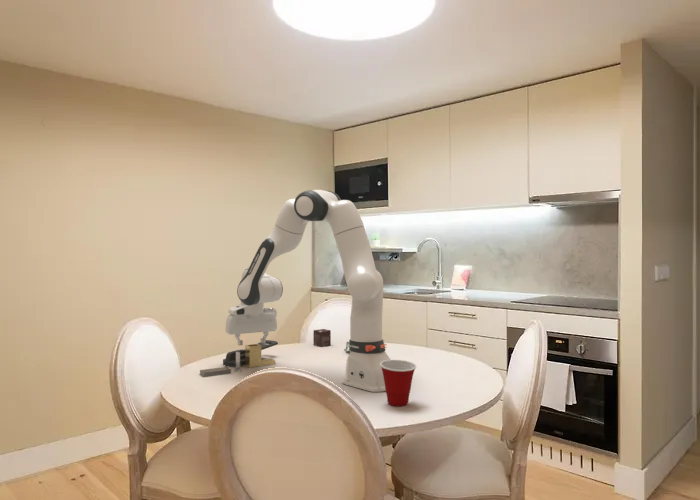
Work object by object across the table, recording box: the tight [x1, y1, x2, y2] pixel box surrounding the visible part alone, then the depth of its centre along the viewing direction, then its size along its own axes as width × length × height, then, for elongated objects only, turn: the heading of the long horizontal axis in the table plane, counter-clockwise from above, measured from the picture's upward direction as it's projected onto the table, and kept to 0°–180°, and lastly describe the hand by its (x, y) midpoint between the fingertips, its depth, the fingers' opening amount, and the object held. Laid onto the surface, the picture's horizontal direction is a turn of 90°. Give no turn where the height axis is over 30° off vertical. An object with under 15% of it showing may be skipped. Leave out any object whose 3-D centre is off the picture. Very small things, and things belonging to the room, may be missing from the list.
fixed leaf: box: [199, 352, 242, 378], centre depth 195 cm, size 5×15×7 cm, turn 121°
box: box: [312, 328, 332, 348], centre depth 249 cm, size 6×6×7 cm
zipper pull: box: [222, 339, 279, 368], centre depth 216 cm, size 9×7×25 cm
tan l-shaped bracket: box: [244, 343, 276, 368], centre depth 209 cm, size 11×5×8 cm, turn 121°
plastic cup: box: [380, 359, 418, 407], centre depth 156 cm, size 11×11×12 cm
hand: (251, 344), depth 207 cm, fingers open, 8 cm apart
